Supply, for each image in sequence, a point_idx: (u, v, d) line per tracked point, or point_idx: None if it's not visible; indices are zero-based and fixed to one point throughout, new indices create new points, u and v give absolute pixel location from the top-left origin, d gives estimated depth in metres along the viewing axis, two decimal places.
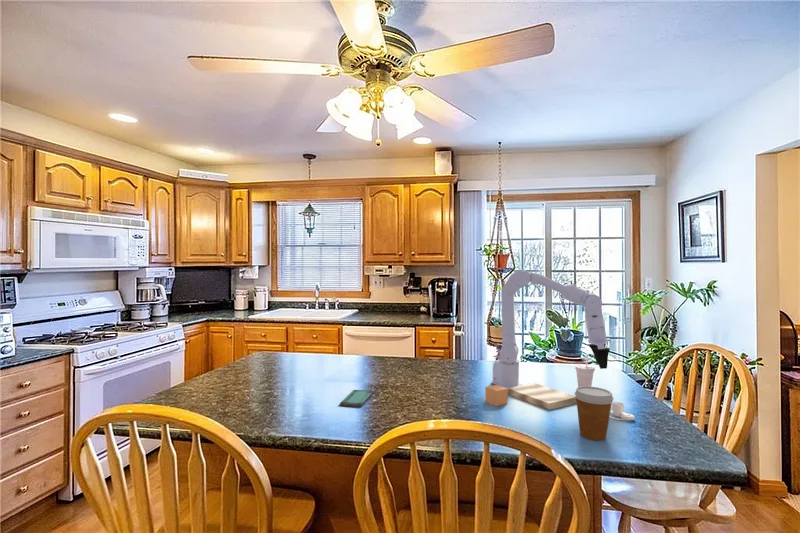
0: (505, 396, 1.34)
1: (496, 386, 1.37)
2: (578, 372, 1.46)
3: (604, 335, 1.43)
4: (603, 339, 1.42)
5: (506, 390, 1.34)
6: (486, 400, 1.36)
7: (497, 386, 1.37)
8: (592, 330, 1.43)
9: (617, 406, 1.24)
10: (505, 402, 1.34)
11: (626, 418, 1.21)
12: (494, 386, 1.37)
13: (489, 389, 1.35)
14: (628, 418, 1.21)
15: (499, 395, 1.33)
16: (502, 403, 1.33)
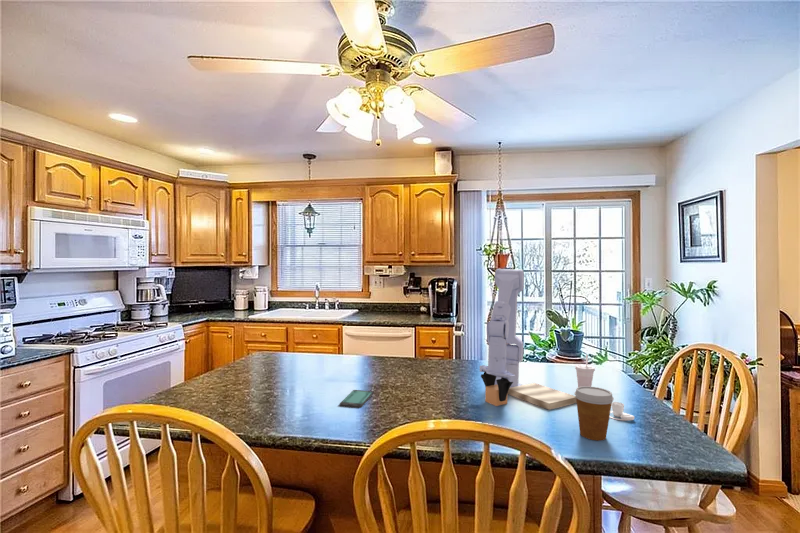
0: None
1: (496, 386, 1.37)
2: (578, 372, 1.46)
3: (488, 365, 1.36)
4: None
5: None
6: (486, 400, 1.36)
7: (497, 386, 1.37)
8: None
9: (617, 406, 1.24)
10: (505, 402, 1.34)
11: (626, 418, 1.21)
12: (494, 385, 1.37)
13: (489, 389, 1.34)
14: (628, 418, 1.20)
15: None
16: (502, 403, 1.33)
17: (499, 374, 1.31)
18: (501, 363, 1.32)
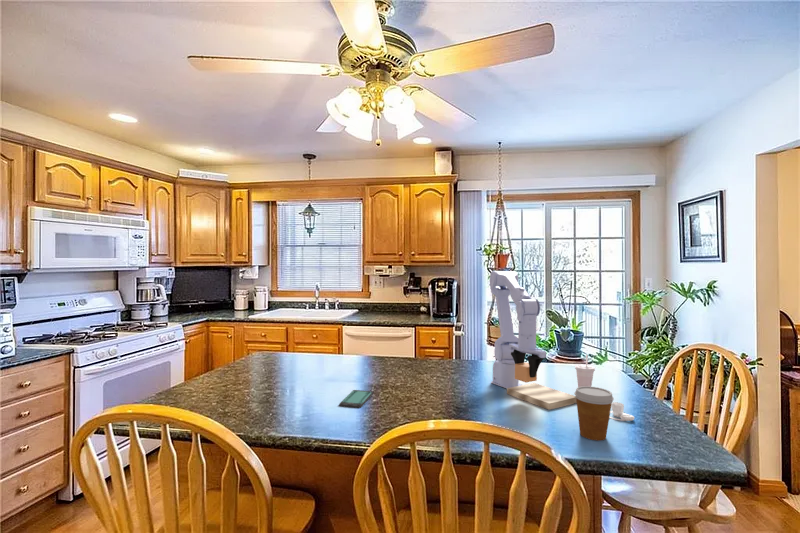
0: None
1: (525, 363, 1.40)
2: (578, 372, 1.46)
3: (518, 342, 1.39)
4: None
5: None
6: (516, 377, 1.39)
7: (526, 363, 1.40)
8: None
9: (617, 406, 1.24)
10: (534, 379, 1.37)
11: (626, 418, 1.21)
12: (523, 363, 1.40)
13: (519, 366, 1.38)
14: (628, 418, 1.20)
15: None
16: (532, 379, 1.37)
17: (530, 351, 1.35)
18: (531, 340, 1.36)
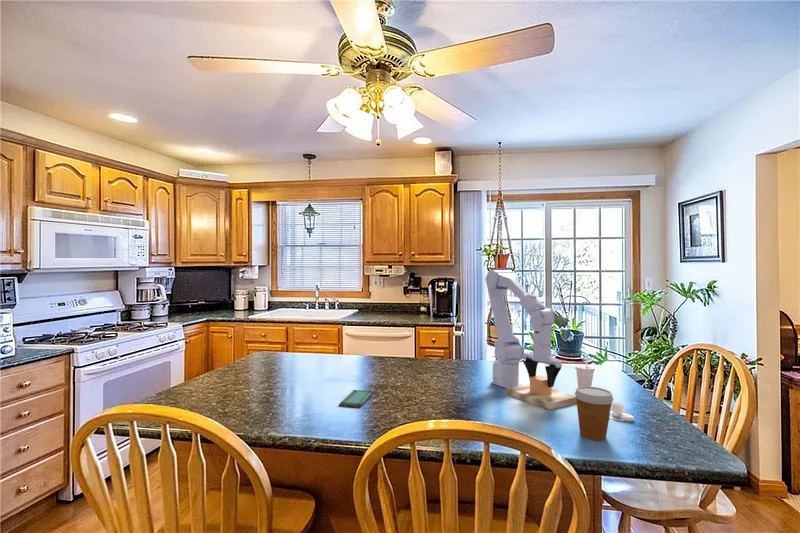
0: None
1: (540, 376, 1.42)
2: (578, 372, 1.46)
3: (533, 352, 1.41)
4: (533, 355, 1.42)
5: None
6: (531, 390, 1.41)
7: (541, 376, 1.42)
8: None
9: (616, 406, 1.24)
10: (549, 392, 1.39)
11: (625, 419, 1.20)
12: (538, 376, 1.42)
13: (534, 379, 1.40)
14: (627, 419, 1.20)
15: (544, 384, 1.38)
16: (547, 392, 1.38)
17: (545, 360, 1.37)
18: (547, 350, 1.38)
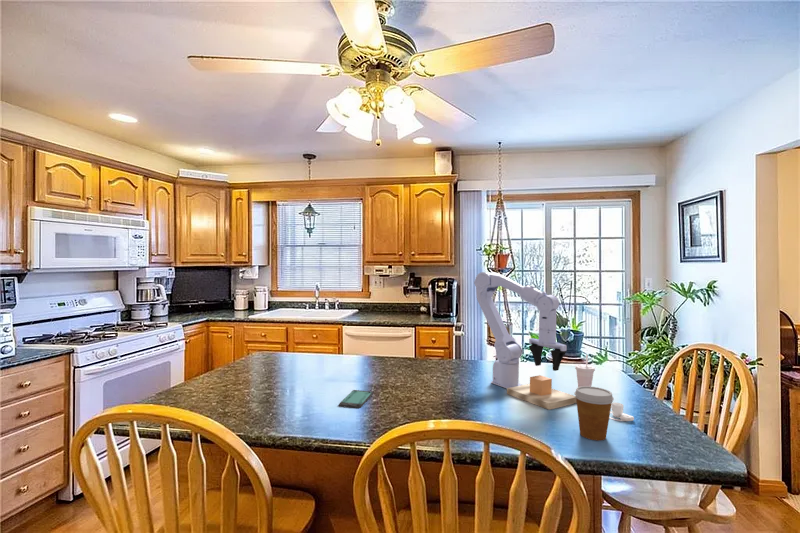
0: (549, 386, 1.39)
1: (540, 376, 1.42)
2: (578, 372, 1.46)
3: (539, 336, 1.45)
4: None
5: (550, 380, 1.39)
6: (531, 390, 1.41)
7: (541, 376, 1.42)
8: None
9: (616, 407, 1.24)
10: (549, 392, 1.39)
11: (625, 419, 1.20)
12: (538, 376, 1.42)
13: (534, 379, 1.40)
14: (627, 419, 1.20)
15: (544, 384, 1.38)
16: (547, 392, 1.38)
17: (551, 344, 1.41)
18: (552, 334, 1.42)
